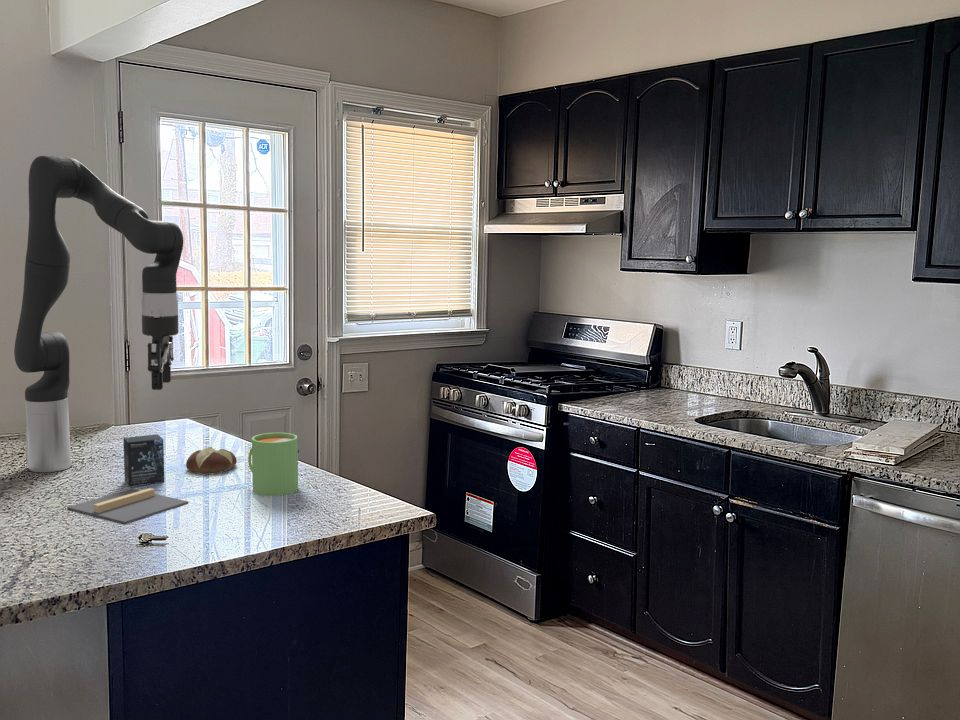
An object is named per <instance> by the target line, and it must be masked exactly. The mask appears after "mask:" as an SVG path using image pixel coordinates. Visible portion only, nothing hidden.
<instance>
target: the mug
mask: <svg viewBox="0 0 960 720" xmlns="http://www.w3.org/2000/svg"><path fill="white" fill-rule="evenodd" d="M298 441H299V440H298V436H297V434H294V433H289V432H267V433H266V432H265V433H261V434H256V435H254V436H252V437H251V448H250V450H249V453H248V459H247V460H248V467H249V471H251V473H252V475H251V477H252V479H251V481H252V492H253V493H254V494H257V495H260V496H268V497H269V496H271V497H274V496H284V495H289V494H292V493H295V492H297V491H298V490H299V455H298V454H299V452H300V450H299V448H298Z"/></svg>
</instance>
